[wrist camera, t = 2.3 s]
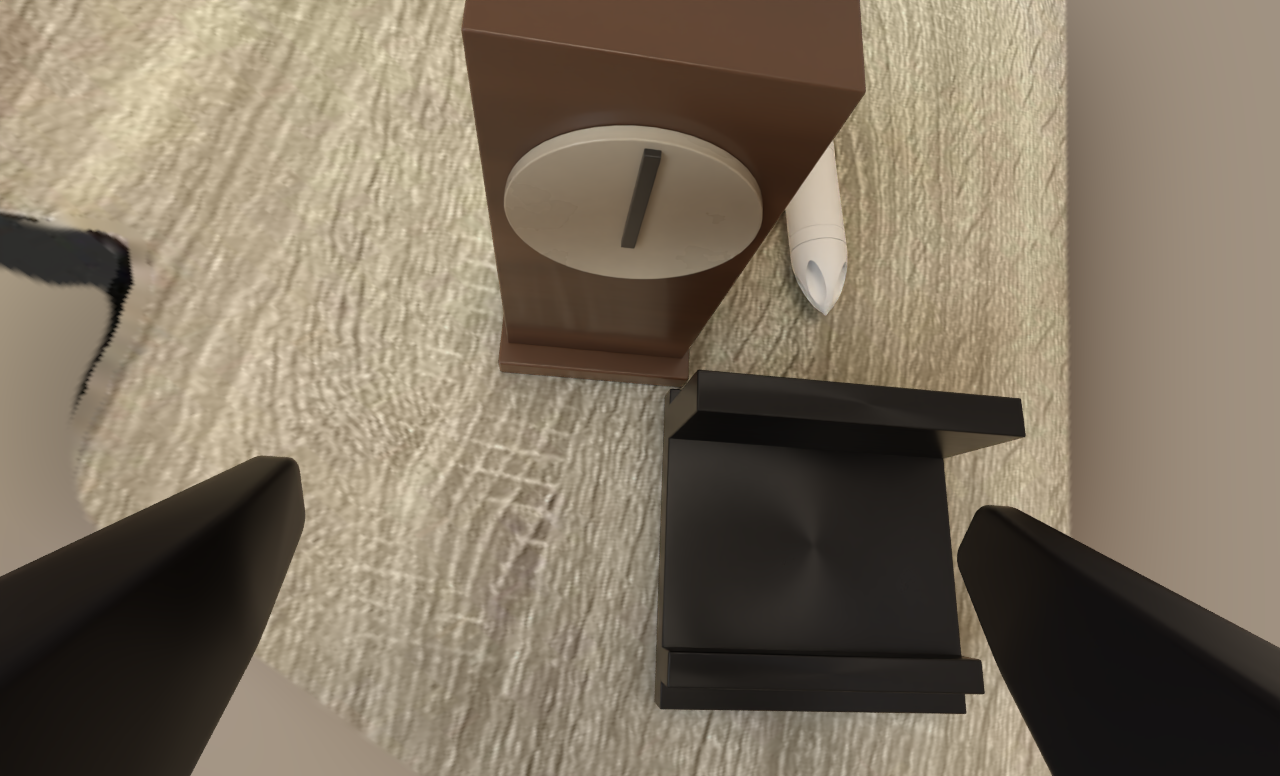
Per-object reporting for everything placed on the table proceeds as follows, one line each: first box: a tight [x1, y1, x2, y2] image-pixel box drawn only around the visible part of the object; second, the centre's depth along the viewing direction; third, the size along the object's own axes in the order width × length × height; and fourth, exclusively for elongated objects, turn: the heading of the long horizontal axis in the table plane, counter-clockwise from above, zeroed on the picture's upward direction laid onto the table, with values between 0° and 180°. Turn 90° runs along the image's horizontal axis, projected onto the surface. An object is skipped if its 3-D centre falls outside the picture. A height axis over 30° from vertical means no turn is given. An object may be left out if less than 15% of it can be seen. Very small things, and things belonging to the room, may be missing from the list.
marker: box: [785, 141, 847, 315], centre depth 25 cm, size 18×2×2 cm, turn 2°
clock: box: [461, 0, 866, 387], centre depth 16 cm, size 5×6×14 cm
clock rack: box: [655, 370, 1026, 714], centre depth 19 cm, size 10×10×5 cm
